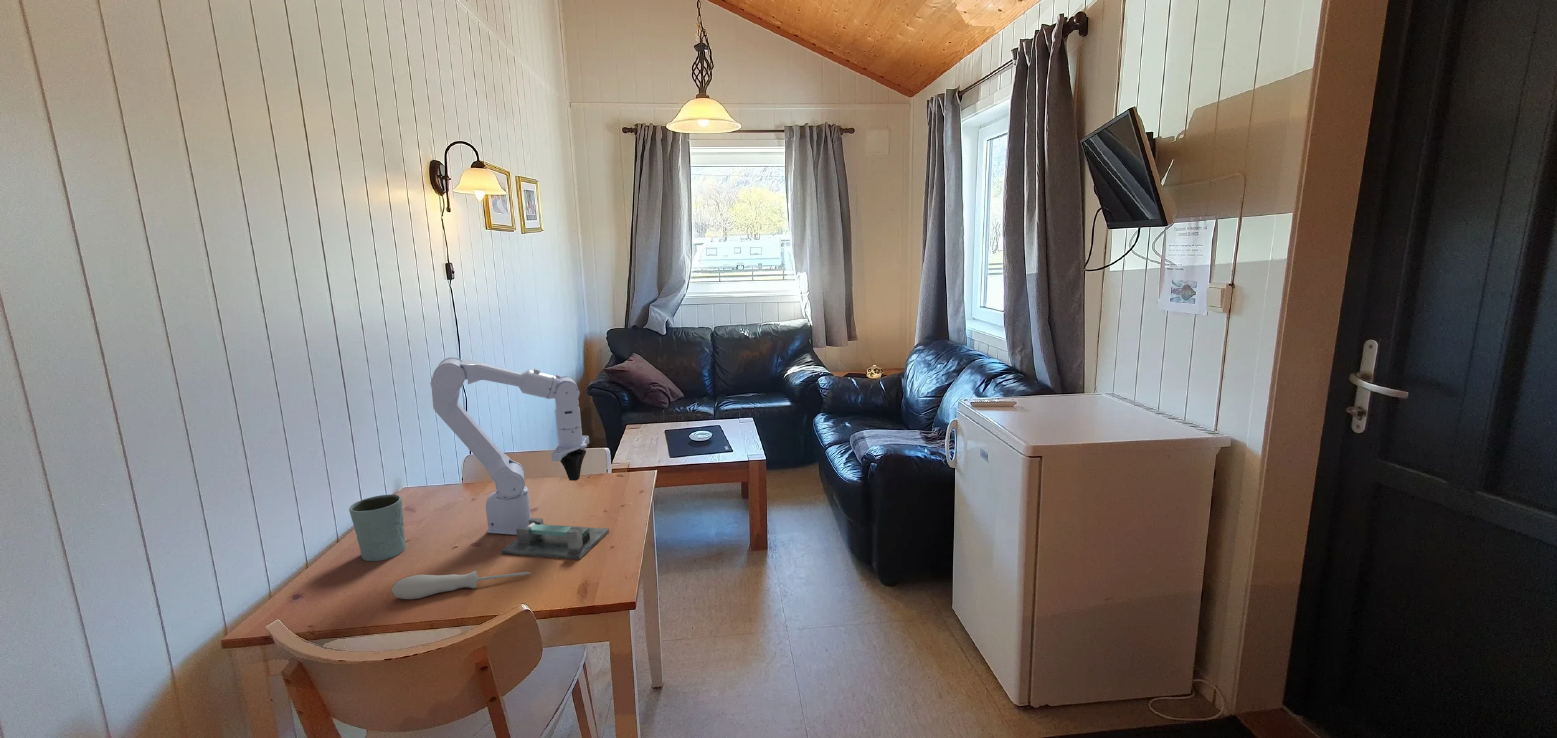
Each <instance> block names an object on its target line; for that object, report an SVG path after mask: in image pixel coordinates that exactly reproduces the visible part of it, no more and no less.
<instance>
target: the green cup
mask: <svg viewBox="0 0 1557 738" xmlns="http://www.w3.org/2000/svg"><path fill="white" fill-rule="evenodd" d="M402 501H403V499H402V496H401V495H399V494H380V495H376V496H371V497H366V498H364V499H361V500H359V501H357V502H354V503H352V504H351V505H350V506H349V508H348V510H349V511H348V512H349V513H350V514H349V515H350V519H351V521H352V523H353V528H354V532H355V534H356V540H357V542H358V546H359V551H360V555H361V558H362V560H363V561H366V562H379V561H383V560H385V561H386V560H388V559H391V558H394V557H396V556H398V555H401V554H402V553H403V552H404V551H405V550H406V547H407V546H406V538H405V528H404V526H405V525H404V523H405V522H404V513H403V502H402Z"/></svg>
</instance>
